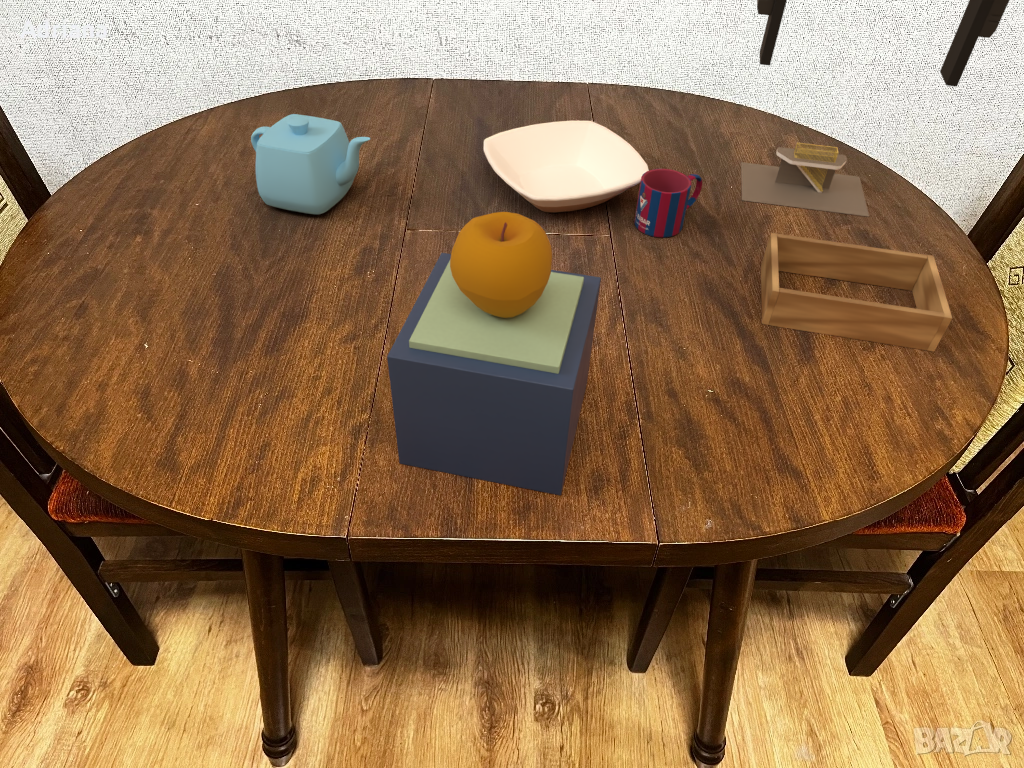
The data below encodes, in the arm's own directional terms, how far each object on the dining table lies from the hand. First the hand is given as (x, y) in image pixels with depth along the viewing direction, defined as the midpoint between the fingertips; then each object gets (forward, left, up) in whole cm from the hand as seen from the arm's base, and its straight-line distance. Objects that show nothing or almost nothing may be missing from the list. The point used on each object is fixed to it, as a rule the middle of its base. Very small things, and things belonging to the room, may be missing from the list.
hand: (854, 69), depth 59 cm
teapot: (+25, +60, -35) cm, 74 cm away
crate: (-11, +25, -35) cm, 44 cm away
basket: (+18, -12, -35) cm, 41 cm away
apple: (-11, +25, -20) cm, 34 cm away
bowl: (+37, +27, -35) cm, 58 cm away
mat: (-11, +25, -21) cm, 34 cm away
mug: (+32, +11, -35) cm, 49 cm away
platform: (+47, -8, -35) cm, 59 cm away
